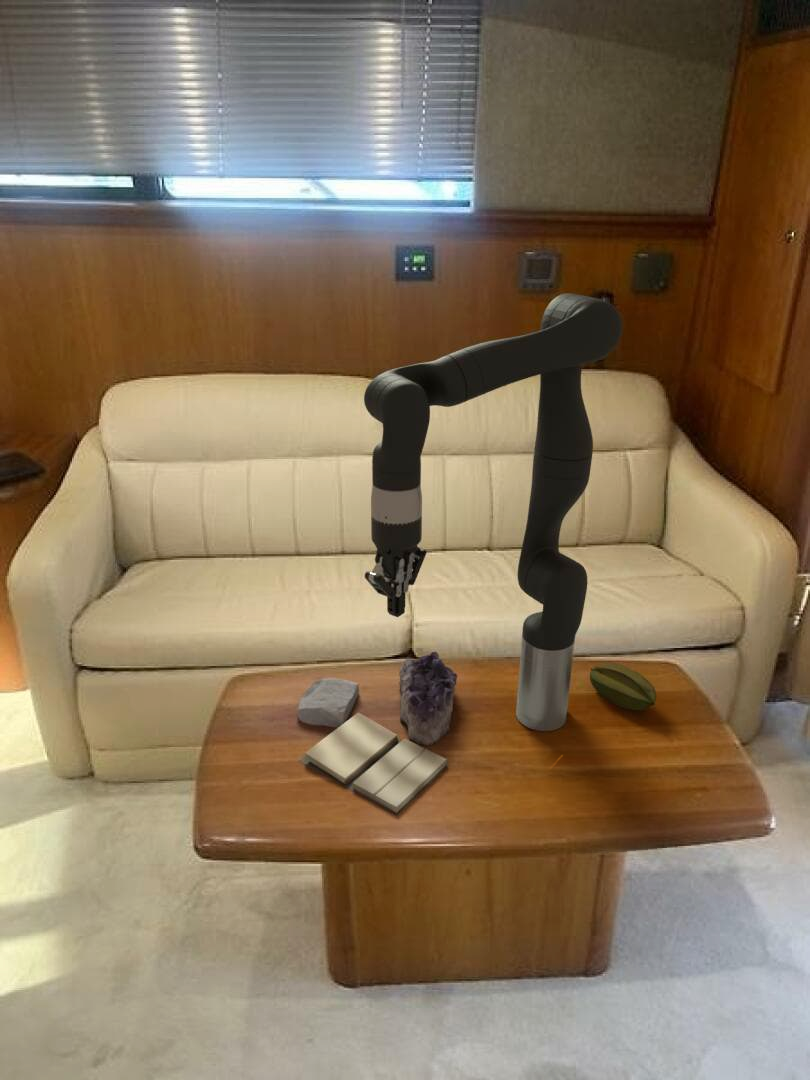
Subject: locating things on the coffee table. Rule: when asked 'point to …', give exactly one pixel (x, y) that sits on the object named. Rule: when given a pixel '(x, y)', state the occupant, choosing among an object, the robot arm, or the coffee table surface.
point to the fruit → (623, 686)
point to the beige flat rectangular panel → (351, 747)
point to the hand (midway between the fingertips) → (396, 613)
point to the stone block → (328, 702)
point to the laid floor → (394, 775)
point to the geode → (426, 698)
